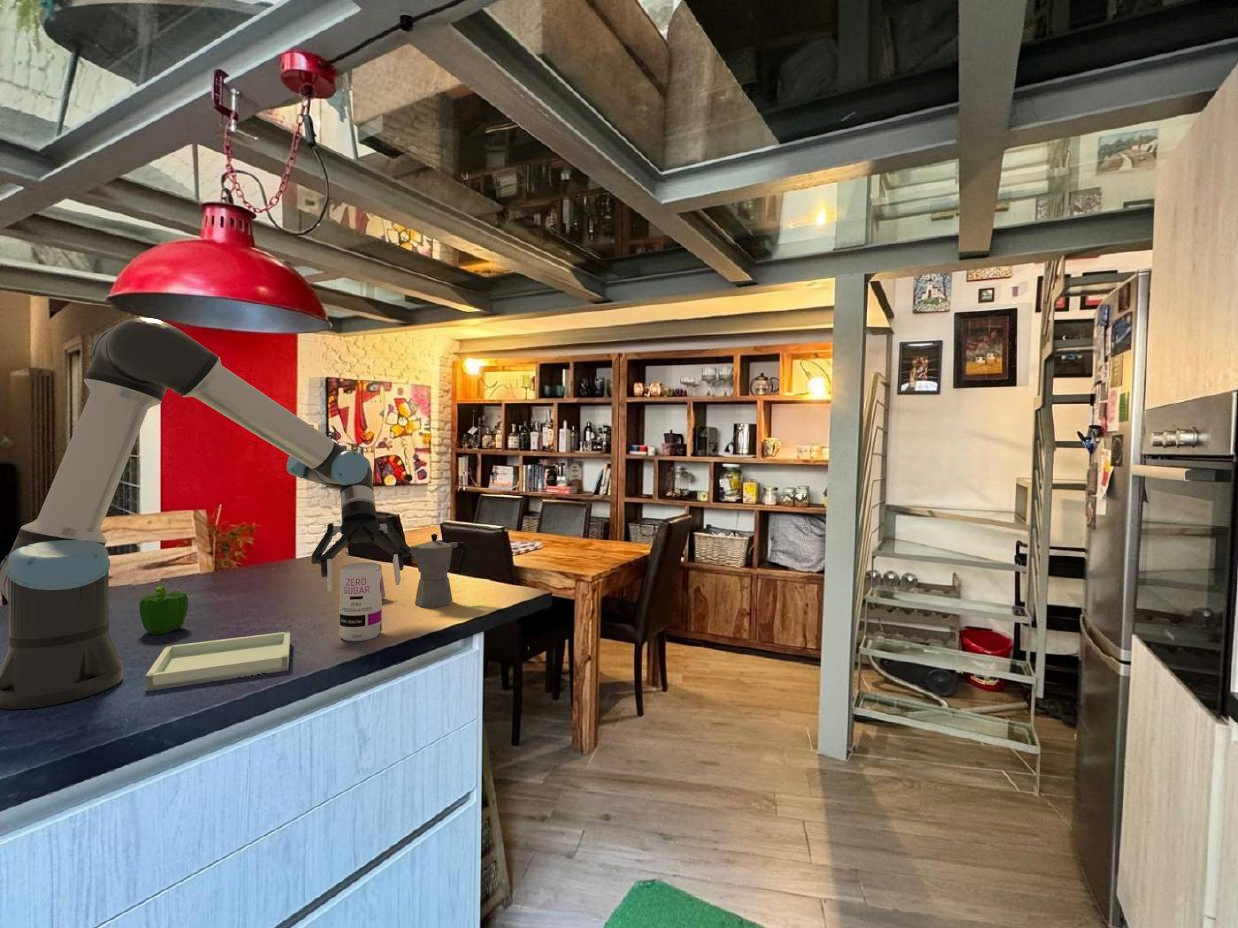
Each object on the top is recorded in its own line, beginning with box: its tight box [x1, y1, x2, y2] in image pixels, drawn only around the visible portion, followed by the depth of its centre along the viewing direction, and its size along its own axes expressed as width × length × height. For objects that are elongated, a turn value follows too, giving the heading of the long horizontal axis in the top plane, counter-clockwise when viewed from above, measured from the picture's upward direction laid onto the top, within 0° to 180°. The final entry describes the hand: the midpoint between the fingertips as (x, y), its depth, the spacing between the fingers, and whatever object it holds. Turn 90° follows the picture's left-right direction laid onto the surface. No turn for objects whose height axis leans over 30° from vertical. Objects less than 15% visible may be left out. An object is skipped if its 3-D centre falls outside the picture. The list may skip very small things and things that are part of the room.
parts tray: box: [144, 631, 291, 692], centre depth 104 cm, size 20×16×2 cm
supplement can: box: [338, 561, 383, 642], centre depth 122 cm, size 8×8×15 cm
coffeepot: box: [409, 533, 470, 609], centre depth 149 cm, size 15×9×18 cm, turn 112°
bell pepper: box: [138, 586, 189, 635], centre depth 123 cm, size 8×8×10 cm
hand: (364, 585), depth 125 cm, fingers open, 13 cm apart
